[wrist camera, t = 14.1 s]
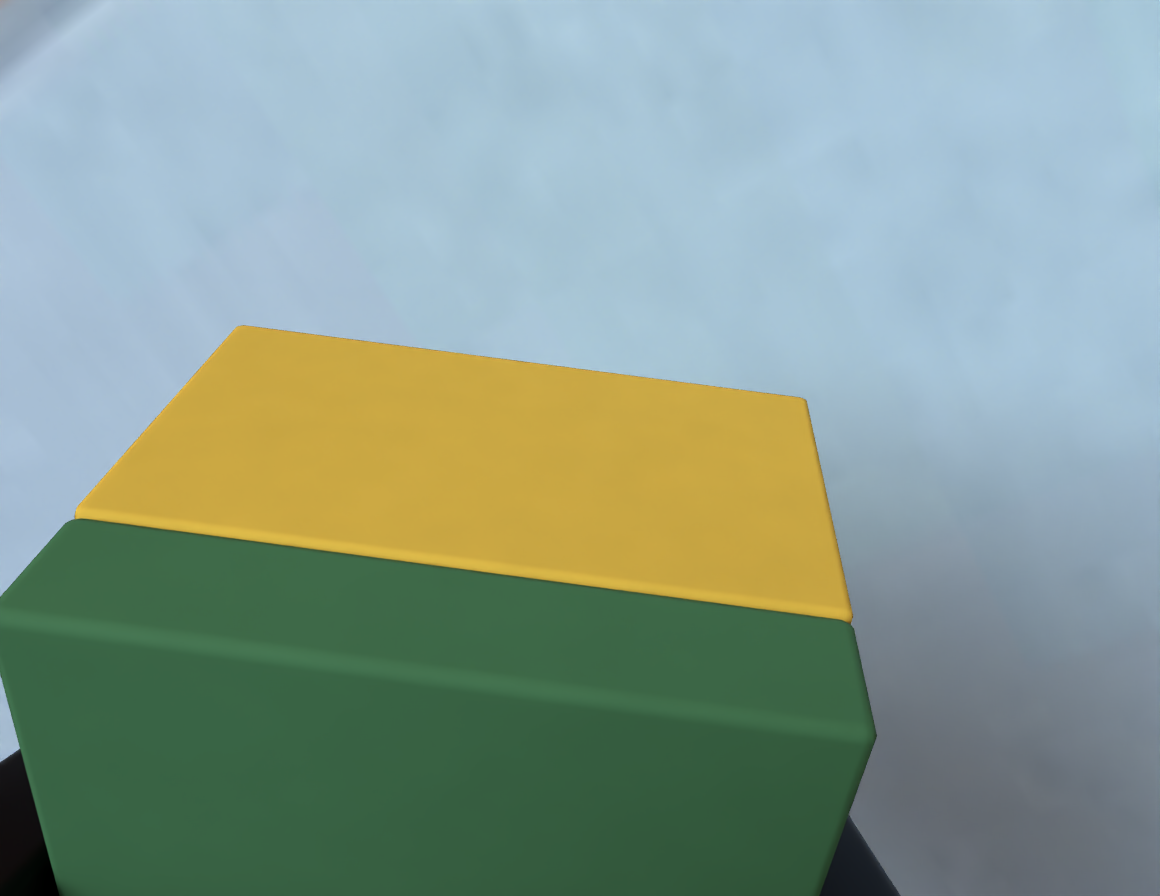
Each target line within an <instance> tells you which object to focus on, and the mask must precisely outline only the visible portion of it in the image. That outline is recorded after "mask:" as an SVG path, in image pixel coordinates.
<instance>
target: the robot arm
mask: <svg viewBox="0 0 1160 896" xmlns="http://www.w3.org/2000/svg"><path fill="white" fill-rule="evenodd" d="M0 896H59V892H58V888H57V885H56V881H55V877H54V873H53V870H52V866H51V862H50V858H49V855H48V851H47V847H46V843H45V839H44V836H43V832H42V828H41V824H40V821H39V817H38V813H37V809H36V806H35V802H34V798H33V794H32V791H31V787H30V783H29V779H28V776H27V772H26V768H25V764H24V761H23V757H22V753H21V749H19V750H18V751H16V752H15V753H13V754H12V755H10V756H9V757H7V758H6V759H4V760H3V761H1V762H0ZM819 896H900V894H899V893H898V891H897V890H896V888H895V887H894V885H893V883H892V882H891V880H890V879H889V877H888V876H887V874H886V873H885V871H884V869H883V868H882V866H881V865H880V863H879V862H878V860H877V858H876V857H875V855H874V854H873V852H872V851H871V849H870V848H869V846H868V844H867V843H866V841H865V840H864V838H863V837H862V835H861V834H860V832H859V830H858V829H857V827H856V826H855V824H854V823H853V821H852V819H851V818H850V816H849V815H848V818H847V820H846V823H845V826H844V829H843V831H842V834H841V837H840V840H839V842H838V845H837V848H836V851H835V854H834V856H833V859H832V862H831V865H830V867H829V870H828V873H827V876H826V879H825V881H824V884H823V887H822V890H821V892H820V895H819Z"/></svg>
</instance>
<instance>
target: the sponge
mask: <svg viewBox="0 0 1160 896" xmlns="http://www.w3.org/2000/svg"><path fill="white" fill-rule="evenodd" d="M852 619H853V613H852V609H851V604H850V599H849V595H848V590H847V586H846V581H845V576H844V572H843V567H842V562H841V558H840V553H839V549H838V544H837V539H836V535H835V530H834V525H833V521H832V516H831V512H830V507H829V502H828V498H827V493H826V488H825V484H824V479H823V475H822V470H821V465H820V461H819V456H818V452H817V447H816V442H815V438H814V433H813V428H812V424H811V419H810V415H809V410H808V405H807V401H806V400H805V399H803V398H800V397H792V396H785V395H777V394H769V393H762V392H754V391H746V390H738V389H731V388H723V387H715V386H708V385H700V384H692V383H684V382H677V381H669V380H661V379H654V378H646V377H638V376H630V375H623V374H615V373H607V372H600V371H592V370H584V369H576V368H569V367H561V366H553V365H546V364H538V363H530V362H522V361H515V360H507V359H499V358H492V357H484V356H476V355H469V354H461V353H453V352H445V351H438V350H430V349H422V348H415V347H407V346H399V345H391V344H384V343H376V342H368V341H361V340H353V339H345V338H337V337H330V336H322V335H314V334H307V333H299V332H291V331H283V330H276V329H268V328H260V327H253V326H245V325H243V326H238V327H236V328H235V329H234V330H233V332H232V333H231V334H230V335H229V336H228V337H227V338H226V339H225V341H224V342H223V343H222V344H221V345H220V346H219V347H218V348H217V350H216V351H215V352H214V353H213V354H212V355H211V356H210V357H209V359H208V360H207V361H206V362H205V363H204V364H203V365H202V367H201V368H200V369H199V370H198V371H197V372H196V373H195V374H194V376H193V377H192V378H191V379H190V380H189V381H188V382H187V383H186V385H185V386H184V387H183V388H182V389H181V390H180V391H179V392H178V394H177V395H176V396H175V397H174V398H173V399H172V400H171V402H170V403H169V404H168V405H167V406H166V407H165V408H164V409H163V411H162V412H161V413H160V414H159V415H158V416H157V417H156V418H155V420H154V421H153V422H152V423H151V424H150V425H149V426H148V427H147V429H146V430H145V431H144V432H143V433H142V434H141V435H140V437H139V438H138V439H137V440H136V441H135V442H134V443H133V444H132V446H131V447H130V448H129V449H128V450H127V451H126V452H125V453H124V455H123V456H122V457H121V458H120V459H119V460H118V461H117V463H116V464H115V465H114V466H113V467H112V468H111V469H110V470H109V472H108V473H107V474H106V475H105V476H104V477H103V478H102V479H101V481H100V482H99V483H98V484H97V485H96V486H95V487H94V488H93V490H92V491H91V492H90V493H89V494H88V495H87V496H86V498H85V499H84V500H83V501H82V502H81V503H80V504H79V505H78V507H77V509H76V512H75V519H74V520H71V521H69V522H67V523H65V524H64V525H63V527H62V528H61V529H60V530H59V531H58V532H57V533H56V534H55V536H54V537H53V538H52V539H51V540H50V541H49V542H48V544H47V545H46V546H45V547H44V548H43V549H42V550H41V551H40V553H39V554H38V555H37V556H36V557H35V558H34V559H33V561H32V562H31V563H30V564H29V565H28V566H27V567H26V568H25V570H24V571H23V572H22V573H21V574H20V575H19V576H18V578H17V579H16V580H15V581H14V582H13V583H12V584H11V586H10V587H9V588H8V589H7V590H6V591H5V592H4V593H3V595H2V596H1V597H0V674H1V678H2V682H3V686H4V689H5V693H6V697H7V701H8V704H9V708H10V712H11V716H12V719H13V723H14V727H15V731H16V734H17V738H18V742H19V746H20V749H21V753H22V757H23V761H24V764H25V768H26V772H27V776H28V779H29V783H30V787H31V791H32V794H33V798H34V802H35V806H36V809H37V813H38V817H39V821H40V824H41V828H42V832H43V836H44V839H45V843H46V847H47V851H48V855H49V858H50V862H51V866H52V870H53V873H54V877H55V881H56V885H57V888H58V892H59V896H819V895H820V892H821V890H822V887H823V884H824V881H825V879H826V876H827V873H828V870H829V867H830V865H831V862H832V859H833V856H834V854H835V851H836V848H837V845H838V842H839V840H840V837H841V834H842V831H843V829H844V826H845V823H846V820H847V818H848V815H849V812H850V809H851V806H852V804H853V801H854V798H855V795H856V793H857V790H858V787H859V784H860V781H861V779H862V776H863V773H864V770H865V768H866V765H867V762H868V759H869V757H870V754H871V751H872V748H873V745H874V743H875V740H876V737H877V734H876V730H875V725H874V720H873V716H872V711H871V706H870V701H869V697H868V692H867V687H866V683H865V678H864V673H863V669H862V664H861V659H860V655H859V650H858V645H857V641H856V636H855V631H854V628H853V627H852V626H851V622H852Z"/></svg>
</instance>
